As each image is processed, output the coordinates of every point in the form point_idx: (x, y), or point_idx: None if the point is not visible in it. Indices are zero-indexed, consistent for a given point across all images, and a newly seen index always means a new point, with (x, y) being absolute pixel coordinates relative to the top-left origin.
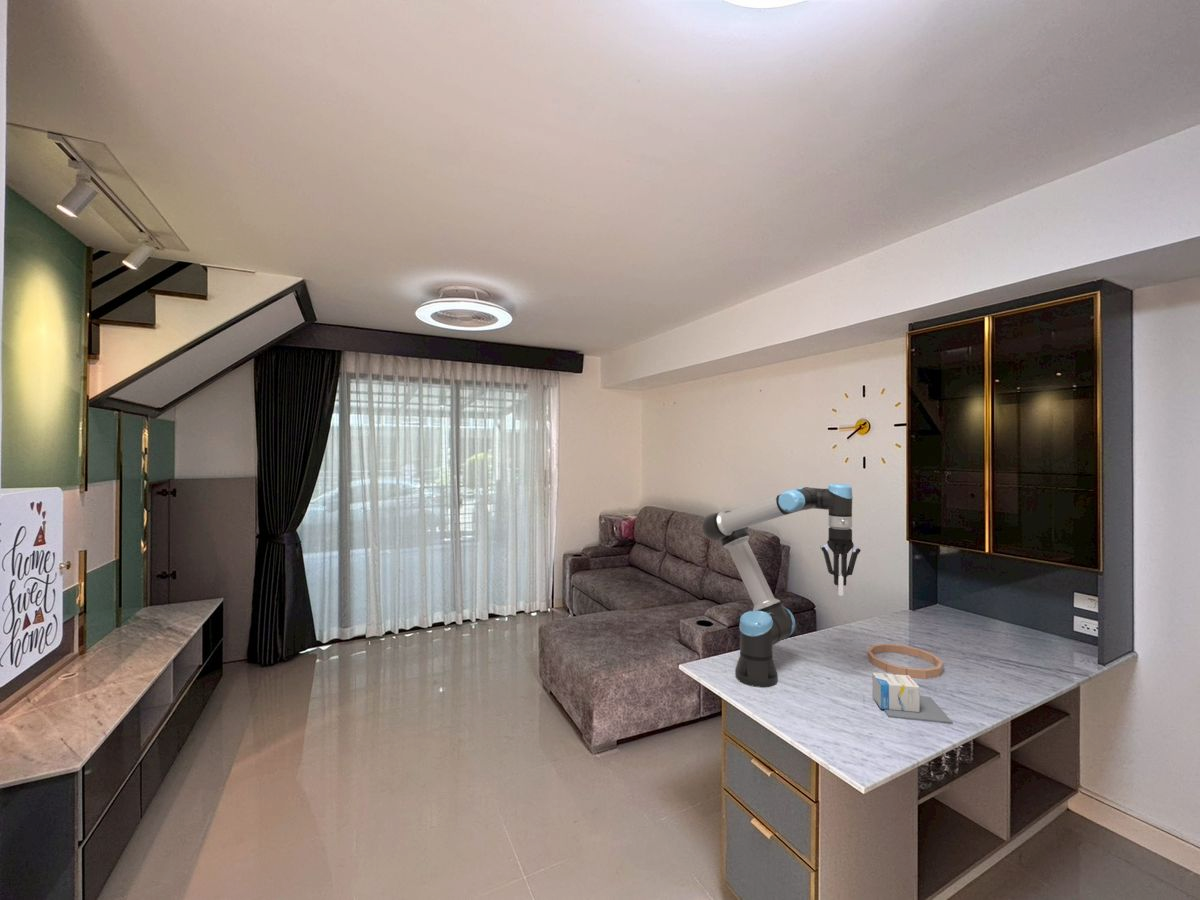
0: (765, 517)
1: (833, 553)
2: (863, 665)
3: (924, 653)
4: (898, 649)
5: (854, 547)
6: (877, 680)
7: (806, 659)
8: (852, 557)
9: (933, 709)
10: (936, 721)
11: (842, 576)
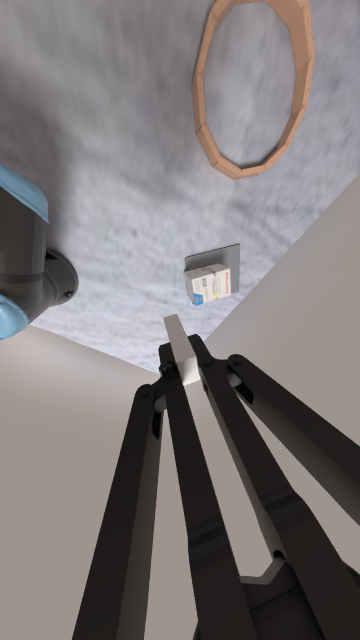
0: None
1: (195, 586)
2: (181, 145)
3: (303, 35)
4: None
5: None
6: (193, 296)
7: (85, 152)
8: (325, 484)
9: (232, 274)
10: None
11: (198, 374)
